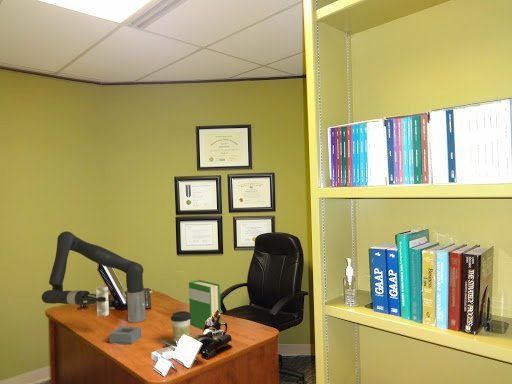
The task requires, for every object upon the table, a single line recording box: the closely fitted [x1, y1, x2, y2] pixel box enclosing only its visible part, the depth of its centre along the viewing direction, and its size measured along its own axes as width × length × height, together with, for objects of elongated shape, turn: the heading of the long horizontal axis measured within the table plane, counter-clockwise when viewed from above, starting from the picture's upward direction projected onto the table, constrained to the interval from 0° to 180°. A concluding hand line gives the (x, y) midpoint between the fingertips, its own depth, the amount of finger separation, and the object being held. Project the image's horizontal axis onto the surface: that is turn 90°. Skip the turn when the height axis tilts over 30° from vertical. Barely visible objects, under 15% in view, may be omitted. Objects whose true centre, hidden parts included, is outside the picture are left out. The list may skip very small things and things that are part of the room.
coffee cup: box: [170, 311, 191, 342], centre depth 186 cm, size 10×10×15 cm
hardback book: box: [188, 279, 222, 330], centre depth 209 cm, size 18×7×24 cm, turn 48°
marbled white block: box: [95, 285, 110, 317], centre depth 201 cm, size 5×3×15 cm, turn 78°
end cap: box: [108, 326, 143, 346], centre depth 194 cm, size 12×10×5 cm
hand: (107, 298), depth 200 cm, fingers closed on marbled white block, 3 cm apart
